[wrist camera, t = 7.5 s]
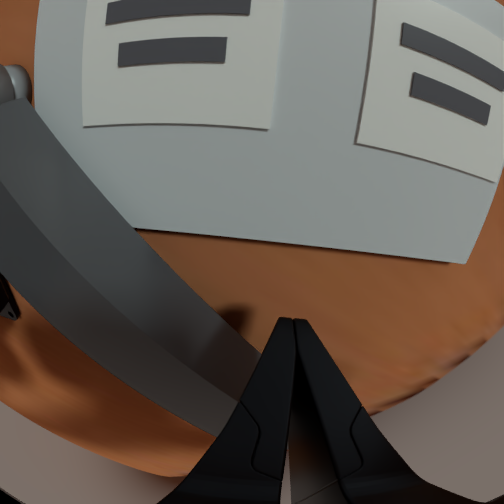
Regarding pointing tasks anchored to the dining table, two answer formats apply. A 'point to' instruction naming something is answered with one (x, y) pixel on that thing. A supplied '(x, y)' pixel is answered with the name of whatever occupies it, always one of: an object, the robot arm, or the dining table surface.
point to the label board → (282, 116)
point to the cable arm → (109, 279)
